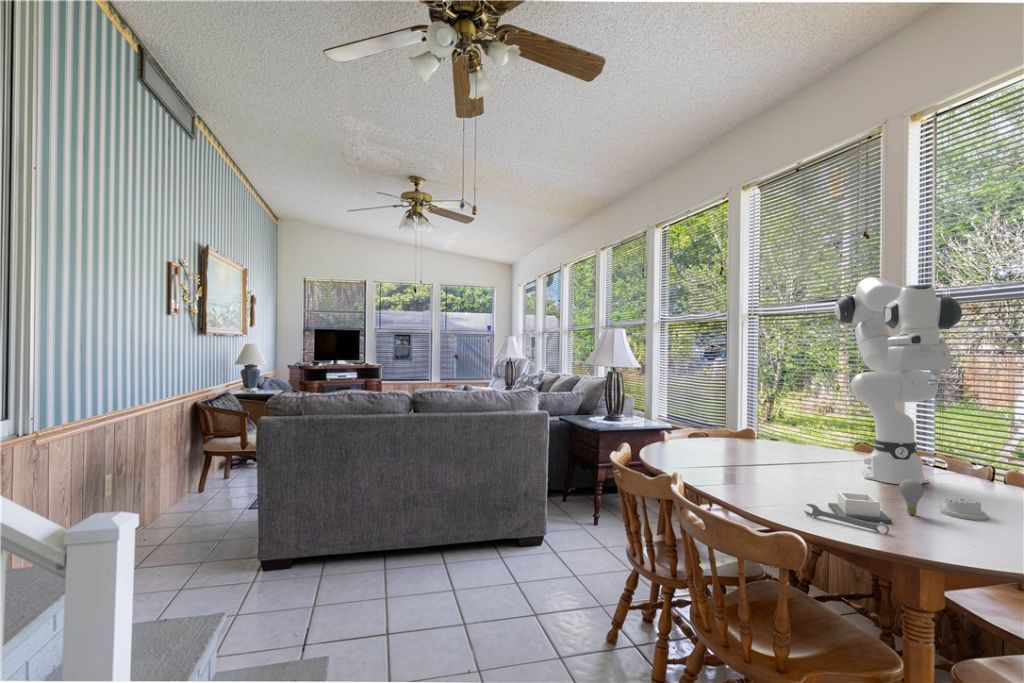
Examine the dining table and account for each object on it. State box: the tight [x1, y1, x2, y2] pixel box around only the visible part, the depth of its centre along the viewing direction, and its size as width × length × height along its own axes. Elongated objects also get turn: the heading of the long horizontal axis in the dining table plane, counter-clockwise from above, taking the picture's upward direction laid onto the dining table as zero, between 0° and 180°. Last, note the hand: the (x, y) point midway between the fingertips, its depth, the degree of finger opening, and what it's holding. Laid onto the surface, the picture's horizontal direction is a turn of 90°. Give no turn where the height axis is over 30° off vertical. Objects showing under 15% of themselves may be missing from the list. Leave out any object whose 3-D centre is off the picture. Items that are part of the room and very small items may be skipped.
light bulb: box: [898, 479, 925, 516], centre depth 139 cm, size 6×6×10 cm
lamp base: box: [827, 491, 893, 524], centre depth 140 cm, size 12×12×5 cm
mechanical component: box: [939, 495, 988, 521], centre depth 139 cm, size 10×4×10 cm
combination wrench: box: [803, 503, 890, 535], centre depth 132 cm, size 4×1×20 cm
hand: (921, 385), depth 144 cm, fingers open, 8 cm apart
